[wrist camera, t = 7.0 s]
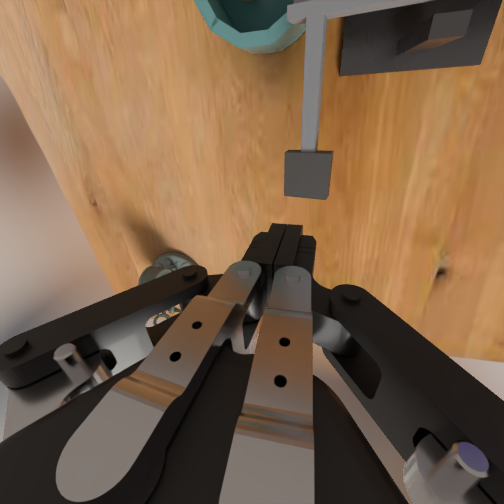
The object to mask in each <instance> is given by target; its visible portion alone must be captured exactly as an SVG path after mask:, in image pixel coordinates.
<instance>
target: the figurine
mask: <svg viewBox="0 0 504 504" xmlns="http://www.w3.org/2000/svg"><path fill="white" fill-rule="evenodd" d="M189 265H197V263H195V262H194V261H193V260H192V259H191V258H189V257H187V256H185V255H183V254H180V253H177V252H166V253H163V254H162V255H160V256H159V257H158V258H157V259H156V260H155V262H154V264H153V266H150V267H148V268H146V269H145V270H144V271H143V272H142V274H141V276H140V279H139V285H141V284H143V283H146V282H148V281H151V280H153V279H156V278H158V277H160V276H163V275H165V274H168V273H170V272H173V271H175V270H178V269H180V268H182V267H185V266H189ZM167 310H168V311H169V313H172V314H173V313H174V312H180V313H181V310H180V309H178V308H176V307H175V306H173V307H171V308H169V309H167ZM159 317H165V318H167V319H169V318H171V317H170V316H169V315H168V314H166V310H165V311H163V312H162V314H160V315H159V314H157V316H156V317H155V318H154V322H153V323H154V326H155V325H157V323H156V320H157V319H158V318H159Z"/></svg>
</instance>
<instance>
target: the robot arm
mask: <svg viewBox="0 0 504 504" xmlns="http://www.w3.org/2000/svg"><path fill="white" fill-rule="evenodd" d="M315 251H316V240H315V239H314V237H313V236H307V235H303V225H291V224H288V225H287V224H276V223H272V225H271V227H270V229H269V231H268V232H260V233H259V234H257V235H256V236H255V237H254V238H253V240H252V242H251V244H250V246H249V248H248V249H247V251H246V253H245V255H244V257H243V258H242V260H241V261H239V262H236V263H234V264H232V265H230V266H229V267H228V269H227V270H226V271H225V273H224V274H218V275H208V274H207V270H206V269H205V268H204V267H202V266H199V265H189V266H185V267H182V268H180V269H178V270H175V271H173V272H170V273H168V274H165V275H163V276H160V277H158V278H156V279H153V280H151V281H148V282H146V283H143V284H141V285H138V286H136V287H134V288H131V289H129V290H126V291H124V292H121V293H119V294H116V295H114V296H112V297H109V298H107V299H104V300H102V301H99V302H97V303H94V304H92V305H90V306H87V307H85V308H82V309H80V310H78V311H75V312H72V313H70V314H68V315H65V316H63V317H61V318H58V319H55V320H53V321H51V322H48V323H46V324H43V325H41V326H38V327H36V328H34V329H31V330H29V331H26V332H24V333H21V334H19V335H17V336H14V337H12V338H11V339H9V340H7V341H6V342H4V343H3V344H1V345H0V381H1V382H2V383H3V385H4V387H5V388H6V389H7V390H8V391H9V394H8V402H7V411H6V420H5V429H4V437H3V441H2V442H1V443H0V504H409V503H408V502H407V500H406V499H405V497H404V496H403V494H402V493H401V491H400V490H399V488H398V487H397V485H396V484H395V482H394V481H393V479H392V478H391V476H390V474H389V473H388V472H387V470H386V468H385V467H384V465H383V464H382V462H381V461H380V459H379V458H378V456H377V455H376V453H375V452H374V450H373V449H372V447H371V445H370V444H369V442H368V441H367V439H366V438H365V436H364V435H363V433H362V432H361V430H360V429H359V427H358V426H357V424H356V423H355V421H354V420H353V418H352V416H351V415H350V413H349V412H348V410H347V409H346V408H345V406H344V404H343V403H342V401H341V400H340V398H339V397H338V396H337V395H336V394H335V392H334V391H333V390H332V389H331V388H330V387H329V386H327V384H325V383H324V382H323V381H321V380H320V379H319V378H318V377H316V376H314V375H313V343H315V344H317V345H319V346H321V347H322V349H323V353H324V355H325V356H326V358H327V359H328V360H329V362H330V363H331V364H332V366H333V367H334V368H335V369H336V371H337V372H338V373H339V375H340V376H341V377H342V379H343V380H344V381H345V383H346V384H347V385H348V387H349V388H350V389H351V391H352V392H353V393H354V395H355V396H356V397H357V398H358V400H359V401H360V402H361V404H362V405H363V406H364V408H365V409H366V410H367V412H368V413H369V414H370V416H371V417H372V418H373V420H374V421H375V422H376V423H377V425H378V426H379V427H380V429H381V430H382V431H383V433H384V434H385V435H386V437H387V438H388V439H389V441H390V442H391V443H392V444H393V446H394V447H395V449H396V450H397V451H398V452H399V454H400V455H401V456H402V458H403V459H404V460H405V461H406V463H405V466H404V471H403V476H404V483H405V486H406V490H407V492H408V494H409V497H410V499H411V500H412V502H413V504H504V401H503V400H502V399H500V398H499V397H498V396H497V395H495V394H494V393H493V392H491V391H490V390H489V389H488V388H487V387H485V386H484V385H483V384H482V383H480V382H479V381H478V380H477V379H475V378H474V377H473V376H472V375H470V374H469V373H468V372H467V371H466V370H464V369H463V368H462V367H461V366H459V365H458V364H457V363H456V362H454V361H453V360H452V359H451V358H449V357H448V356H447V355H446V354H445V353H443V352H442V351H441V350H440V349H438V348H437V347H436V346H435V345H433V344H432V343H431V342H430V341H428V340H427V339H426V338H425V337H423V336H422V335H421V334H420V333H418V332H417V331H416V330H415V329H413V328H412V327H411V326H410V325H408V324H407V323H406V322H405V321H404V320H402V319H401V318H400V317H399V316H397V315H396V314H395V313H394V312H392V311H391V310H390V309H389V308H387V307H386V306H385V305H384V304H382V303H381V302H380V301H379V300H377V299H376V298H375V297H374V296H372V295H371V294H370V293H369V292H367V291H366V290H365V289H363V288H361V287H358V286H355V285H349V284H343V285H338V286H336V287H334V288H333V289H332V290H330V289H327V288H325V287H323V286H321V285H319V284H318V283H317V282H316V281H315V280H314V278H313V271H314V261H315ZM178 304H179V305H180V308H181V313H179V314H177V315H175V316H173V317H171V318H169V319H167V320H165V321H163V322H161V323H159V324H157V325H155V326H153V327H145V325H146V322H147V321H148V320H149V319H150V318H151V317H153V316H155V315H157V314H159V313H161V312H163V311H165V310H167V309H169V308H171V307H173V306H176V305H178ZM266 307H268V308H266ZM259 330H260V331H259ZM258 333H259V336H258V340H257V345H256V349H255V354H250V352H251V349H252V347H253V344H254V342H255V340H256V337H257V335H258Z"/></svg>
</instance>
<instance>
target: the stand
mask: <svg viewBox="0 0 504 504" xmlns="http://www.w3.org/2000/svg"><path fill="white" fill-rule="evenodd" d="M501 3H502V0H434V1H428V2H423V3H417V4H411V5H406V6H400V7H394V8H389V9H383V10H377V11H372V12H366V13H361V14H355V15H349V16H346V19H345V28H344V38H343V47H342V57H341V67H340V76H350V75H362V74H374V73H387V72H399V71H411V70H424V69H436V68H448V67H461V66H473V65H480V64H481V61H482V58H483V55H484V52H485V49H486V46H487V44H488V41H489V38H490V35H491V32H492V29H493V26H494V23H495V20H496V17H497V14H498V12H499V9H500V6H501Z"/></svg>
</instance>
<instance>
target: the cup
mask: <svg viewBox="0 0 504 504" xmlns="http://www.w3.org/2000/svg"><path fill="white" fill-rule="evenodd" d="M194 1H195V3H196V5H197V7H198V9H199V11H200V12H201V14H202V16H203V18H204V20H205V22H206V23H207V25H208V27H209V29H210V30H211V31H212V32H214V33H215V34H217V35H219V36H220V37H222V38H223V39H225V40H227V41H228V42H230V43H231V44H233V45H235V46H236V47H238V48H240V49H242V50H244V51H247V52H249V53H252V54H271V53H276V52H279V51H282V50H284V49H285V48H287V47H289V46H290V45H292V44H293V43H294V42H296V41H297V40H298V39H299V38H300V37H301V36H302V35H303V33H304V32H305V31H306V23H304V24H299V25H294V24H292V23H290V22H288V21H287V5H291V4H294V0H251V1H243V0H194Z"/></svg>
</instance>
